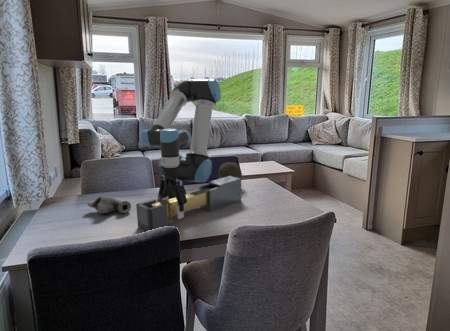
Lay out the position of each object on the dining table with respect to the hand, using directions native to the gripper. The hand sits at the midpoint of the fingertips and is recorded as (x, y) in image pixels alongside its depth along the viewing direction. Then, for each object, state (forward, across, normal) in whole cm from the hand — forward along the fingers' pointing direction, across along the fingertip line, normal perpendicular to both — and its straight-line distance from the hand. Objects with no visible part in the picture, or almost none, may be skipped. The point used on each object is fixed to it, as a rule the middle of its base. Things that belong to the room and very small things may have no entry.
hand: (173, 214), depth 143 cm
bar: (0, 0, +6) cm, 7 cm away
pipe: (+3, -29, -16) cm, 33 cm away
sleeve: (+3, 0, +28) cm, 29 cm away
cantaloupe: (+3, -15, +50) cm, 53 cm away
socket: (+3, 0, -10) cm, 11 cm away
